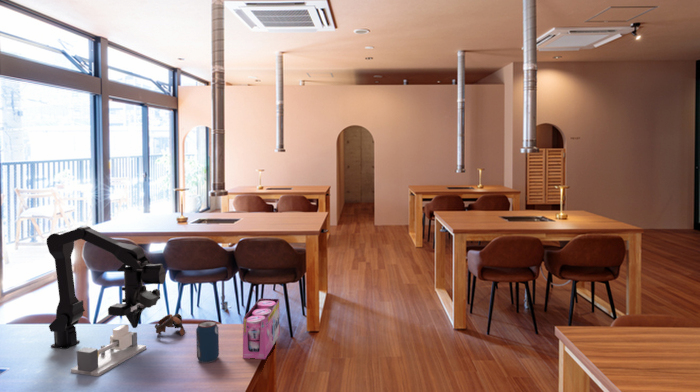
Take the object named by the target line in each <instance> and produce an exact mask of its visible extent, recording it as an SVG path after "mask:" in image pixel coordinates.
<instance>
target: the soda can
mask: <svg viewBox="0 0 700 392" xmlns="http://www.w3.org/2000/svg"><path fill="white" fill-rule="evenodd" d="M195 333H196V334H195V336H196V337H195V338H196V339H195V340H196V358H197V360H198V361H199V362H200V363H203V364H204V363H205V364H209V363H212V362H215V361H216V360H217V359H218V358H219V355H220V346H219V345H220V344H219V341H220V339H219V334H220V333H219V326H218V324H217V322H216V321H215V320H203V321H200V322H198V323H197V327H196V331H195Z"/></svg>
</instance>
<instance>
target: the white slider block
mask: <svg viewBox="0 0 700 392" xmlns="http://www.w3.org/2000/svg"><path fill="white" fill-rule="evenodd" d="M132 332H133V331H129V324H121V325H120V326H117V327H116V328H113V329H112V335H110V336H109V344H111V343H113V342H115V341H117V340H119V344H118V345H116V346H114V347H112V348H111V349H115V350H123V349H125V348H127V347H129V346H131V345H132Z"/></svg>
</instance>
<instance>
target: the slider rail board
mask: <svg viewBox="0 0 700 392" xmlns="http://www.w3.org/2000/svg"><path fill="white" fill-rule="evenodd" d="M131 332H132V345H131V346H129V347H127V348H125V349H123V350H115V349H111V348H112V347H114V346H116V345H118V344H119V340H117V341H115V342H113V343H111V344H110V343H109V344H107V345H105V344H104V345H100V348H99V349H98V348H92V347H82V348H81V349H79V350H77V351H76V358H77V365H76V366H74V367H72V368H70V372H71V373H74V374H79V375H80V374H81V375H87V376H94V377H99V376H101V375H103V374H105V373H107V372H109V371H110V370H111V369H114V368H115V367H117V366H119V365H120V364H122V363H124V362H125V361H127V360H129V359H130V358H132V357H134V356H136V355H138V354H140V353H141V352H143V351H145V350H146V349H147V345H146V344H145V345H144V344H138V333H137V332H135V331H131ZM118 364H119V365H118Z"/></svg>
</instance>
